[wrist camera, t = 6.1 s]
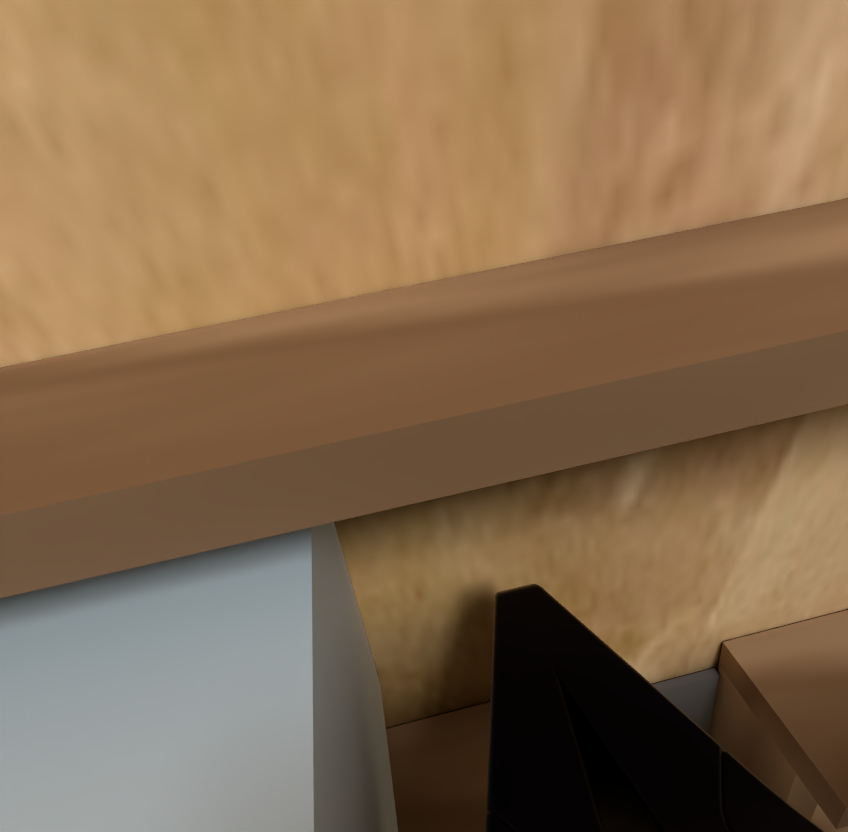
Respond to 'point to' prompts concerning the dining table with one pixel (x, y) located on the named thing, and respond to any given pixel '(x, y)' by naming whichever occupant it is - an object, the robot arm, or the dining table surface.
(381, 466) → the wooden compartment tray
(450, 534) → the dining table surface
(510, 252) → the dining table surface
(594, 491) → the dining table surface
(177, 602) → the cube
